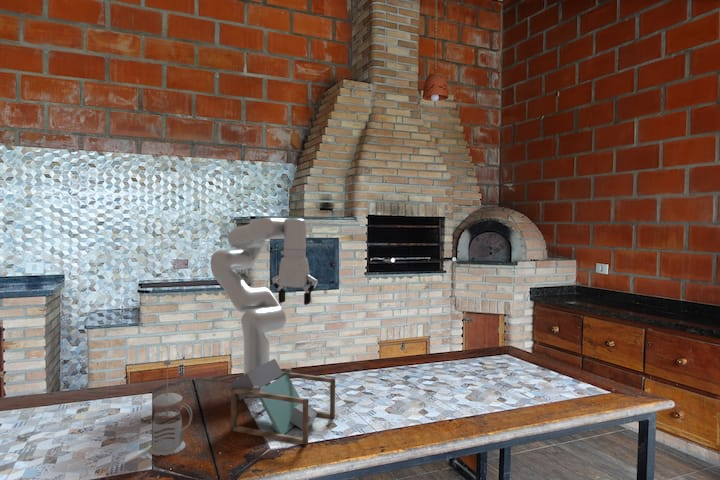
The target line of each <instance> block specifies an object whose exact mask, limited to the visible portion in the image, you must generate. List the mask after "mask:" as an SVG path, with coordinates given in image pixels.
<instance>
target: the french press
mask: <svg viewBox="0 0 720 480" xmlns="http://www.w3.org/2000/svg"><path fill="white" fill-rule="evenodd" d="M171 363H172V362H171V360H169V359H166V360H164V361H163V365H165V366H166V392H165V393H161V394H159V395H157V396H155V398H152V399H151V403H152V405H153V406H156V407H166V409H161V410H158V411H156V412H155V413H154V414H153V418H152V441H151V442H152V445H151V446H150V447H149V448H148V453H149V454H151V455H154V456H160V455H163V456H170V455H174V454H177V453H178V452H181V451H183V450H184V449H185V447H186V442H184V440H183V431H185V430H186V429H187V428H188V427H189V426H190V424H191V422H192V419H193V410H192V408H191V406H189V404H187V403H185V402H182V400H183V396H182V395H180V394H178V393H176V392H175V393H174V392H169V390H168V389H169V388H168V387H169V385H168V382H169V381H168V380H169V371H168V369H169V368H168V367H169V366H168V365H171ZM180 402H182V403H181V404H180V406H179V409H177V408H168V407H170V406H175V405H177V404H179V403H180ZM186 406H187V407H186ZM183 408H184V409H186V410H187V412H188V415H189V421H188V424H186V425H185V426H184V427H183V423H182V421H183V416H182V415H181V412H182V411H181V410H182V409H183ZM176 418H177V419H176ZM166 421H167V422H166ZM164 422H165V423H164ZM180 450H181V451H180ZM173 453H174V454H173ZM169 454H170V455H169Z"/></svg>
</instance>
